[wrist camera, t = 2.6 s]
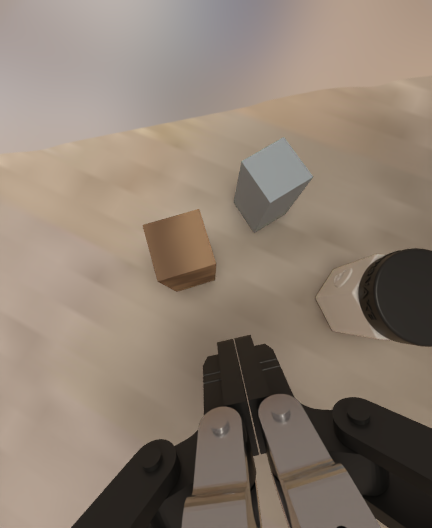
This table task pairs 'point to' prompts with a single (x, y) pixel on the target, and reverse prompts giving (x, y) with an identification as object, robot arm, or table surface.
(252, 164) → the grey block
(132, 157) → the table surface
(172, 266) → the walnut block
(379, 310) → the jar
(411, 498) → the robot arm
